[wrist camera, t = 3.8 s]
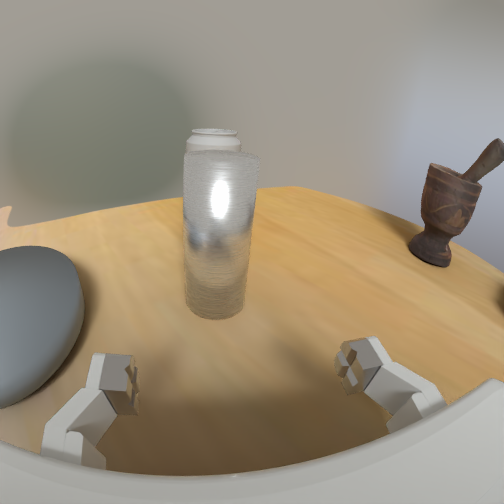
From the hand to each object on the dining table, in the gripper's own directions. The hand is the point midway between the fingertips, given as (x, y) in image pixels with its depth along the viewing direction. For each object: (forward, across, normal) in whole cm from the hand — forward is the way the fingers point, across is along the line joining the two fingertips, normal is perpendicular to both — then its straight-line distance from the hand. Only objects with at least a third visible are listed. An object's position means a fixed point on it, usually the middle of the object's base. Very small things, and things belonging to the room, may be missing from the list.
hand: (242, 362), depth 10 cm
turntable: (+7, -19, -6) cm, 21 cm away
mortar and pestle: (+17, +32, -7) cm, 37 cm away
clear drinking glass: (+12, 0, -7) cm, 14 cm away
